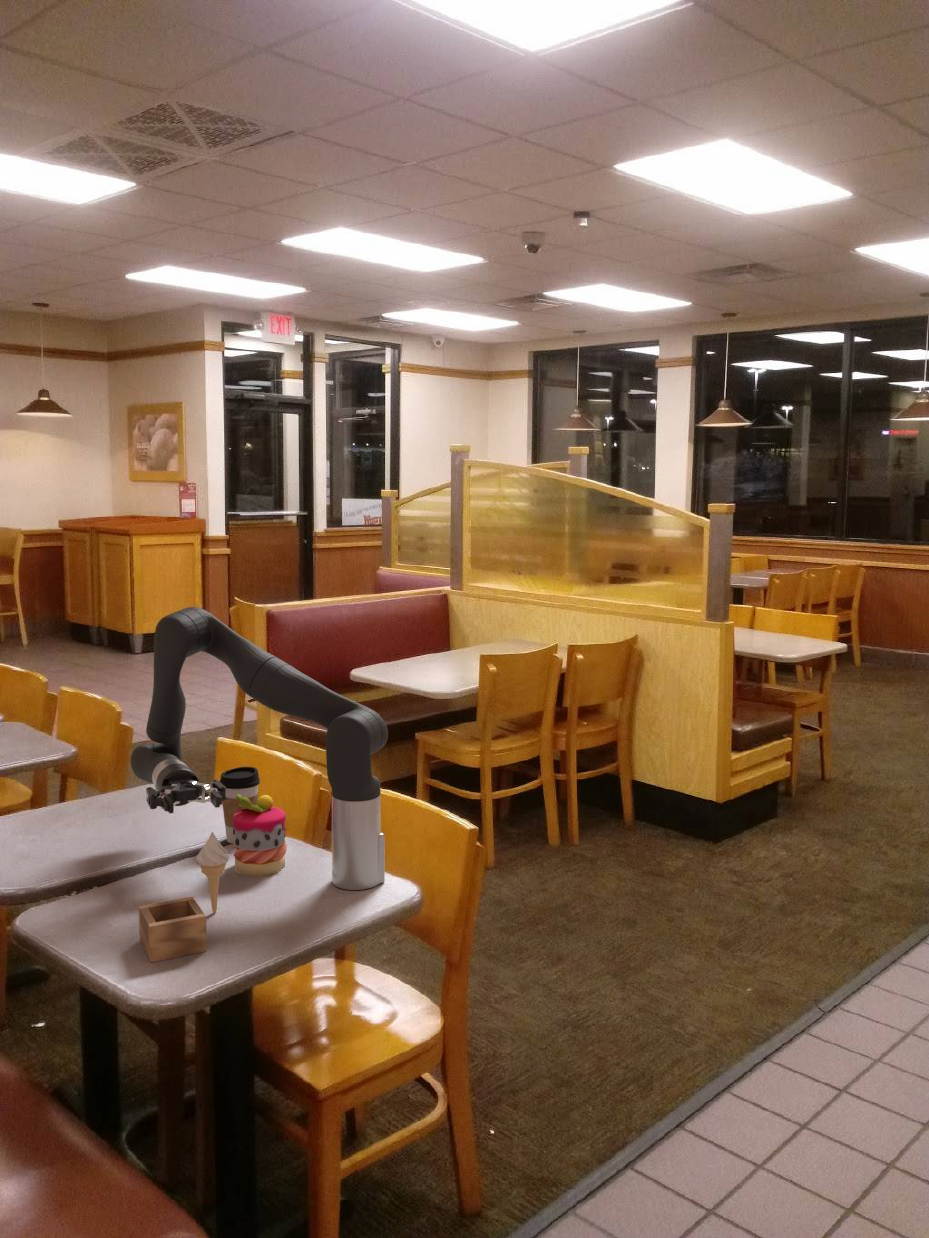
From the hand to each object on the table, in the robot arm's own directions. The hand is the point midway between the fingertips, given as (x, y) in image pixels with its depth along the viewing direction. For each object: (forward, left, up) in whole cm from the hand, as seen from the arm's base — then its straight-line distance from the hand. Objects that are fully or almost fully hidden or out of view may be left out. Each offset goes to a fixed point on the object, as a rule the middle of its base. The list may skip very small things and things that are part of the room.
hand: (195, 805), depth 192 cm
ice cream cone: (0, +11, -17) cm, 20 cm away
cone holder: (+9, +21, -16) cm, 28 cm away
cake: (-14, -7, -17) cm, 23 cm away
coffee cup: (-15, -24, -17) cm, 33 cm away
